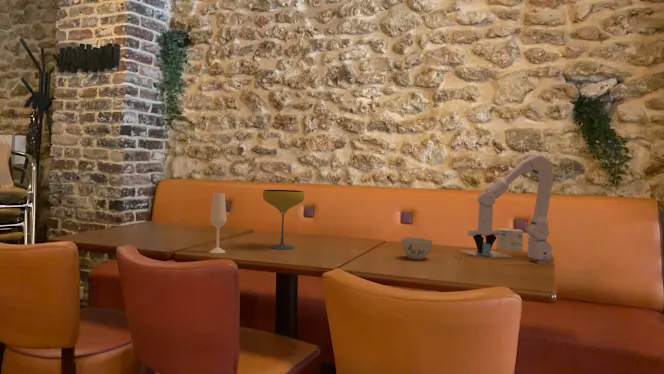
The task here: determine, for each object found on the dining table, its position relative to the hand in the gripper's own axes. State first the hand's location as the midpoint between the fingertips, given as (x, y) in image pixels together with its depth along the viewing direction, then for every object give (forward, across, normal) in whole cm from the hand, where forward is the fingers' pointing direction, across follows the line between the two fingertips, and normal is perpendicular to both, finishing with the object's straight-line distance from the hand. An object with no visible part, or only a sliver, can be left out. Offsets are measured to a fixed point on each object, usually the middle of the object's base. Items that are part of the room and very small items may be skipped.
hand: (483, 252), depth 226 cm
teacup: (+3, +29, -2) cm, 29 cm away
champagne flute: (+3, +109, -19) cm, 111 cm away
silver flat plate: (+2, -3, -4) cm, 6 cm away
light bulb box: (+3, -21, -15) cm, 26 cm away
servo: (+2, 0, 0) cm, 2 cm away
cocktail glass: (+3, +81, -30) cm, 86 cm away
